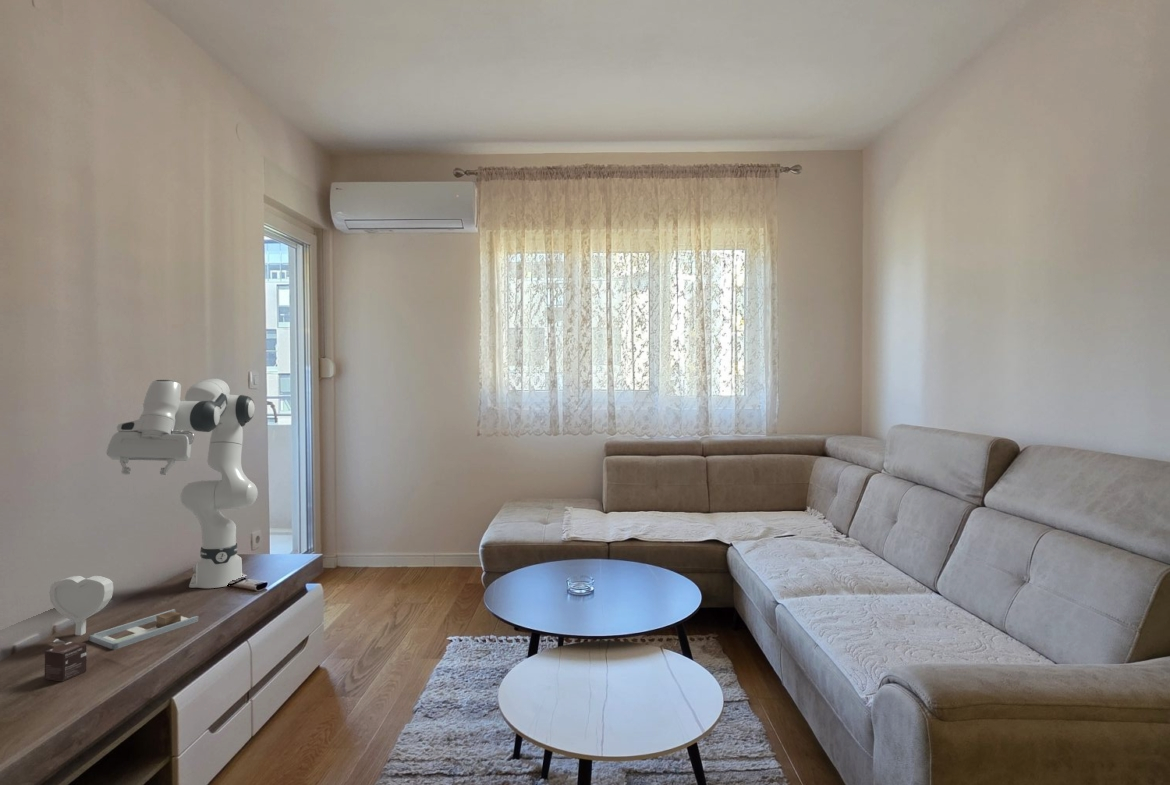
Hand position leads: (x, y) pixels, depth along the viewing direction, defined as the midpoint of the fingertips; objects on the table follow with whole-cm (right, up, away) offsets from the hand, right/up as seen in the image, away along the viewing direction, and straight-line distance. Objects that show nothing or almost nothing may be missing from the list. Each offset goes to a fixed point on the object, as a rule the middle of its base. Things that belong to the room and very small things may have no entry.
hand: (144, 474), depth 172 cm
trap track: (-4, -49, +7) cm, 50 cm away
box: (-7, -50, -18) cm, 53 cm away
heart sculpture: (-21, -49, +3) cm, 54 cm away
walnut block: (0, -48, +10) cm, 49 cm away
